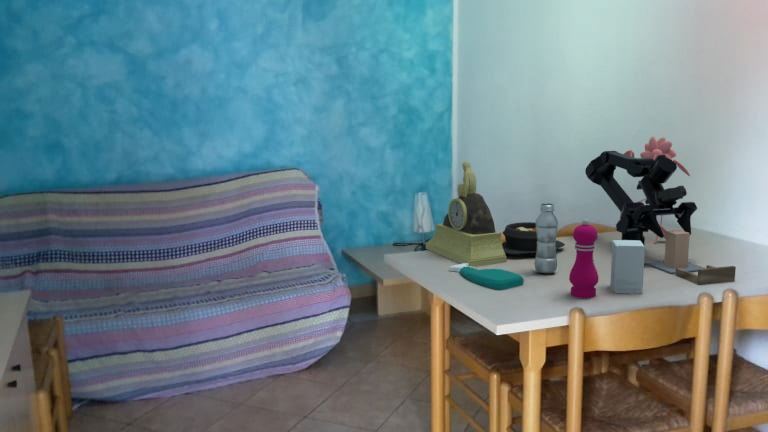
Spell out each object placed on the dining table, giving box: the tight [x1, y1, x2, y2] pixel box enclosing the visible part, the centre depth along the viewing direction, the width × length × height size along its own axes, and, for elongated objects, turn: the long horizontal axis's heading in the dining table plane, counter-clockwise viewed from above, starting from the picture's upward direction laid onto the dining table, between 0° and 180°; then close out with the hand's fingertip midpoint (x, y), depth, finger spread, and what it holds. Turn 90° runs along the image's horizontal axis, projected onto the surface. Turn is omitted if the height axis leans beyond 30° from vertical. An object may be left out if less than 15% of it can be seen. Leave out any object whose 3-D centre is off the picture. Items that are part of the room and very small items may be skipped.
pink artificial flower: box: [623, 136, 691, 244], centre depth 239 cm, size 15×26×35 cm, turn 36°
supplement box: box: [610, 239, 646, 295], centre depth 184 cm, size 7×7×13 cm
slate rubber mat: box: [644, 260, 706, 275], centre depth 205 cm, size 12×12×1 cm
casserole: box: [501, 221, 566, 257], centre depth 227 cm, size 25×19×8 cm
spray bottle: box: [449, 263, 525, 291], centre depth 199 cm, size 3×11×24 cm
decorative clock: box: [425, 160, 508, 268], centre depth 222 cm, size 28×13×30 cm, turn 25°
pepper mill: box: [568, 218, 599, 299], centre depth 179 cm, size 7×7×20 cm
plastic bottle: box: [533, 202, 559, 274], centre depth 201 cm, size 6×7×20 cm
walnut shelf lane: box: [675, 264, 737, 286], centre depth 193 cm, size 10×11×4 cm
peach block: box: [663, 229, 691, 268], centre depth 204 cm, size 4×4×10 cm
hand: (676, 236), depth 204 cm, fingers open, 9 cm apart
